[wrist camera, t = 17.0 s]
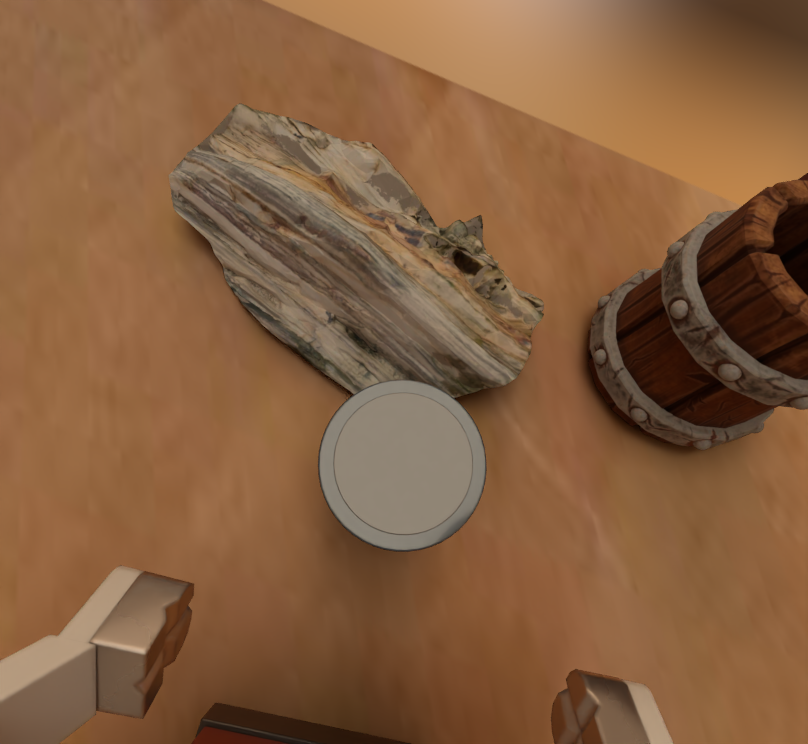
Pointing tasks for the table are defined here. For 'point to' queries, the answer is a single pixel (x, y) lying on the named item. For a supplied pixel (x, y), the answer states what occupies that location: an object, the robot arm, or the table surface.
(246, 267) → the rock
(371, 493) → the cup
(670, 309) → the mug
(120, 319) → the table surface
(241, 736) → the notebooks
